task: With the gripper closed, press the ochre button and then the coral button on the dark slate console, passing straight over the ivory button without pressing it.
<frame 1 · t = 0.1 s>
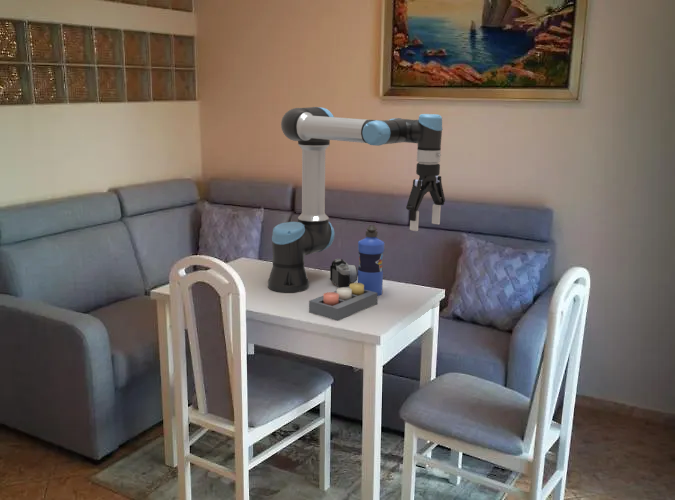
hand: (425, 227, 222), 28 cm above the table, fingers open, 13 cm apart
console: (343, 307, 227), on the table
ivory button: (344, 298, 226), point 3 cm above the table, slide at 0.0 cm
ochre button: (356, 293, 231), point 3 cm above the table, slide at 0.0 cm
water bottle: (369, 293, 243), on the table
coral button: (330, 303, 221), point 3 cm above the table, slide at 0.0 cm
camera: (344, 285, 252), on the table
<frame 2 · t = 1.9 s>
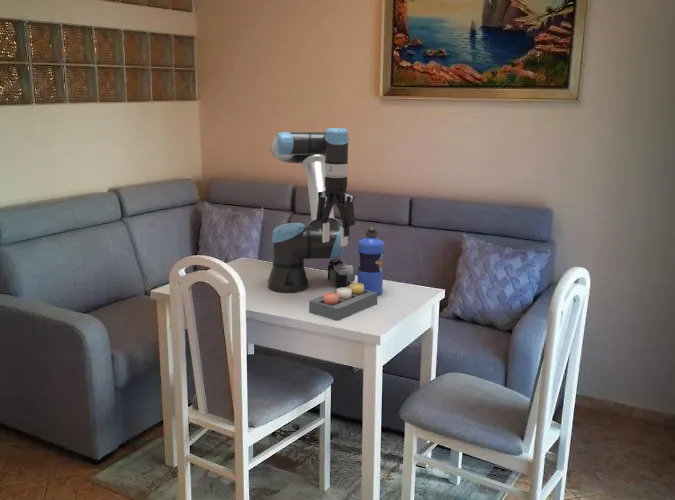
hand: (334, 243, 227), 21 cm above the table, fingers open, 7 cm apart
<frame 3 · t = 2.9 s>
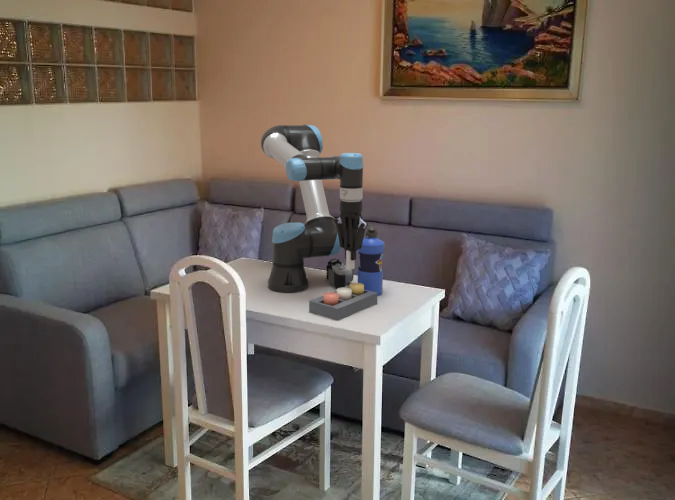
hand: (350, 268, 228), 13 cm above the table, fingers closed
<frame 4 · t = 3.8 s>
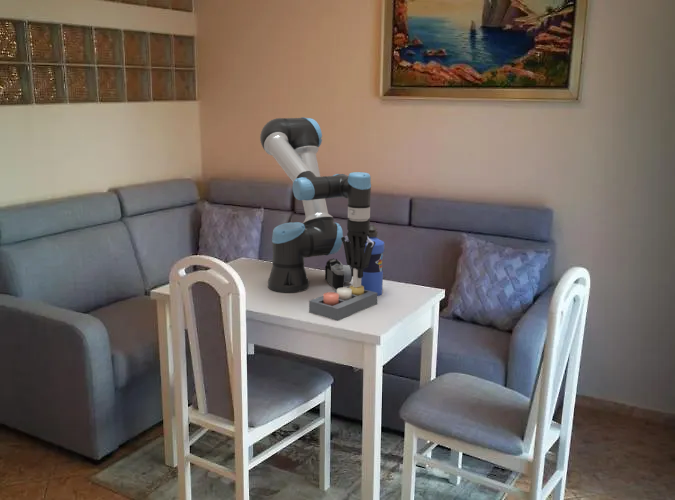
hand: (357, 286, 230), 6 cm above the table, fingers closed
ochre button: (356, 295, 231), point 3 cm above the table, slide at 0.7 cm, touching gripper
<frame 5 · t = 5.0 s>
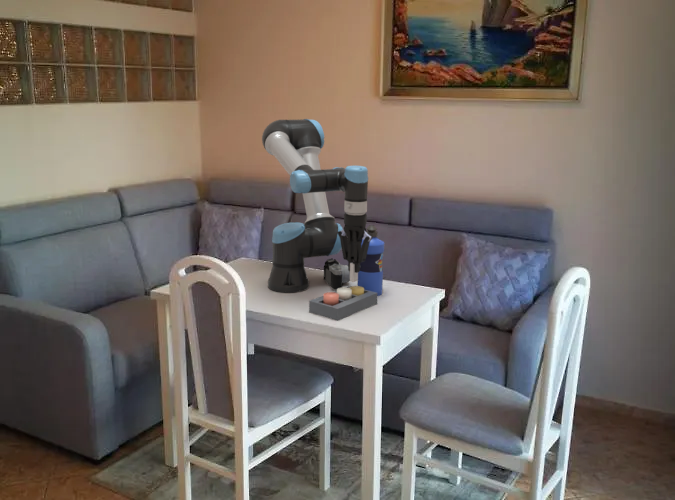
hand: (353, 280, 228), 8 cm above the table, fingers closed
ochre button: (356, 297, 231), point 2 cm above the table, slide at 1.2 cm
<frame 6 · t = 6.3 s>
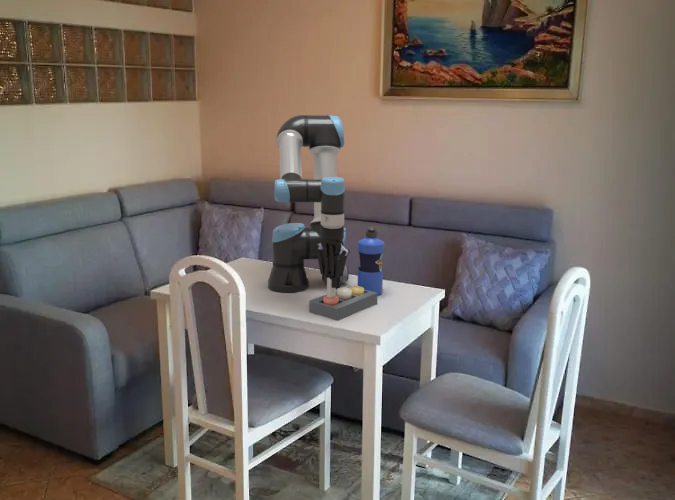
hand: (331, 296, 220), 6 cm above the table, fingers closed
coral button: (330, 306, 221), point 2 cm above the table, slide at 0.9 cm, touching gripper
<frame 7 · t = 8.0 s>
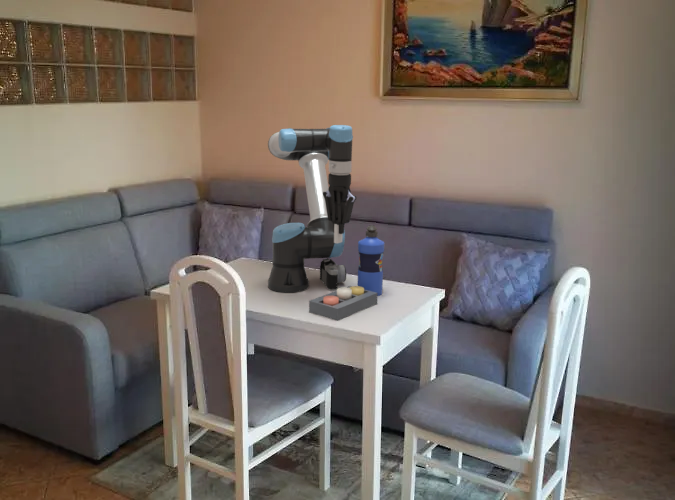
hand: (338, 242, 227), 21 cm above the table, fingers closed
coral button: (330, 307, 221), point 2 cm above the table, slide at 1.2 cm
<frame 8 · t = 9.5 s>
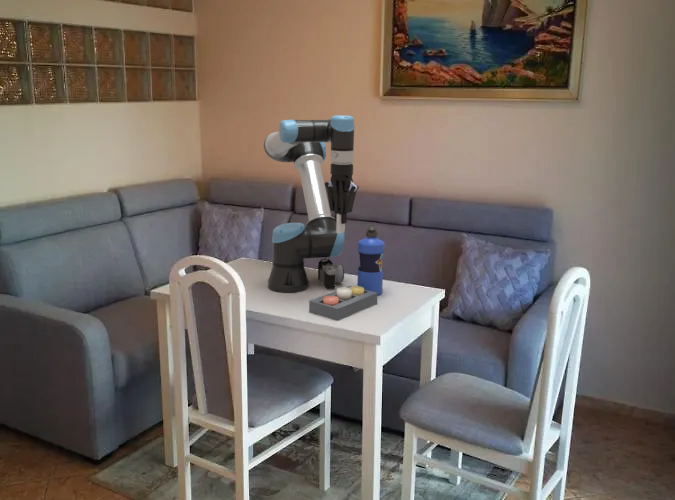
hand: (340, 232, 228), 24 cm above the table, fingers closed
at the end: ochre button slide at 1.2 cm; coral button slide at 1.2 cm; ivory button slide at 0.0 cm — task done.
